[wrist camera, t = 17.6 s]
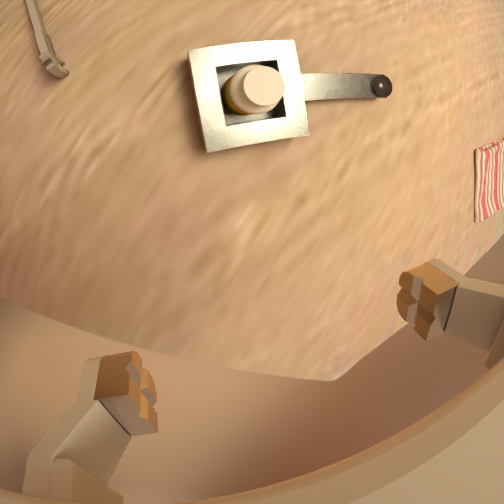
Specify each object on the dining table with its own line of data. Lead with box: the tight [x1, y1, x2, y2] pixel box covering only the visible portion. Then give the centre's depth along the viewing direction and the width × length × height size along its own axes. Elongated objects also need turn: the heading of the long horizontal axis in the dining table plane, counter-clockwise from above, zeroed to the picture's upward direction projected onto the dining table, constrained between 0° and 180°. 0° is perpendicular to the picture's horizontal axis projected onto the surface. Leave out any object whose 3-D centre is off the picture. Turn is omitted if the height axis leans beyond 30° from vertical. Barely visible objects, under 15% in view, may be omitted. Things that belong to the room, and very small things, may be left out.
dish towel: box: [474, 139, 504, 222], centre depth 48 cm, size 17×23×4 cm
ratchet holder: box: [187, 40, 392, 153], centre depth 32 cm, size 27×12×4 cm, turn 99°
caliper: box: [26, 0, 69, 78], centre depth 19 cm, size 20×1×6 cm, turn 26°
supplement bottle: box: [221, 65, 285, 115], centre depth 28 cm, size 5×5×10 cm
